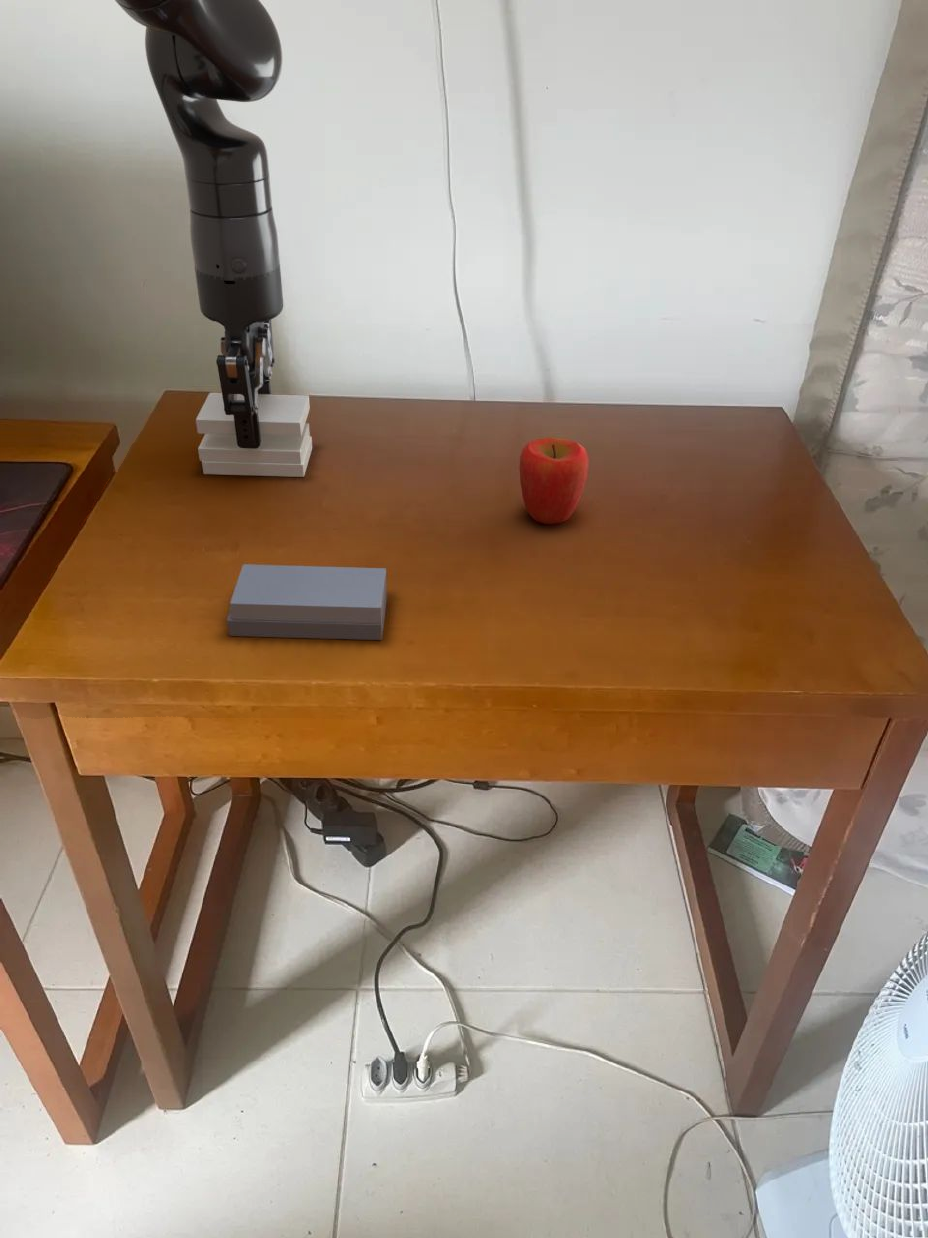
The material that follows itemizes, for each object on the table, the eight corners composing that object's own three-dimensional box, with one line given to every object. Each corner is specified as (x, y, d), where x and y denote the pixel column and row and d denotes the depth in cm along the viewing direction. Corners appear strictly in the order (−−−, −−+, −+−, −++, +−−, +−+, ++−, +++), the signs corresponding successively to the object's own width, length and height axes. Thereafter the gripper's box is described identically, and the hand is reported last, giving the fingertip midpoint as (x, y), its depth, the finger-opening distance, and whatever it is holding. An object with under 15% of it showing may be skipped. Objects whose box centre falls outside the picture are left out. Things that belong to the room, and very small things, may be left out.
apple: (562, 494, 96) (569, 424, 92) (594, 525, 92) (603, 452, 87) (505, 506, 94) (509, 435, 90) (534, 538, 90) (540, 465, 85)
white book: (197, 433, 95) (195, 419, 94) (211, 405, 100) (209, 392, 99) (301, 436, 95) (300, 422, 94) (310, 408, 100) (308, 395, 99)
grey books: (228, 636, 77) (223, 603, 75) (242, 595, 81) (238, 563, 79) (381, 640, 77) (380, 608, 75) (386, 599, 81) (386, 567, 80)
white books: (201, 474, 97) (197, 448, 96) (214, 444, 102) (211, 420, 101) (304, 477, 98) (302, 451, 96) (312, 447, 103) (310, 423, 101)
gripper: (212, 235, 93) (232, 399, 104) (175, 285, 82) (202, 464, 92) (291, 237, 94) (303, 401, 104) (265, 288, 82) (282, 466, 92)
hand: (255, 430), depth 98 cm, fingers closed on white book, 6 cm apart
